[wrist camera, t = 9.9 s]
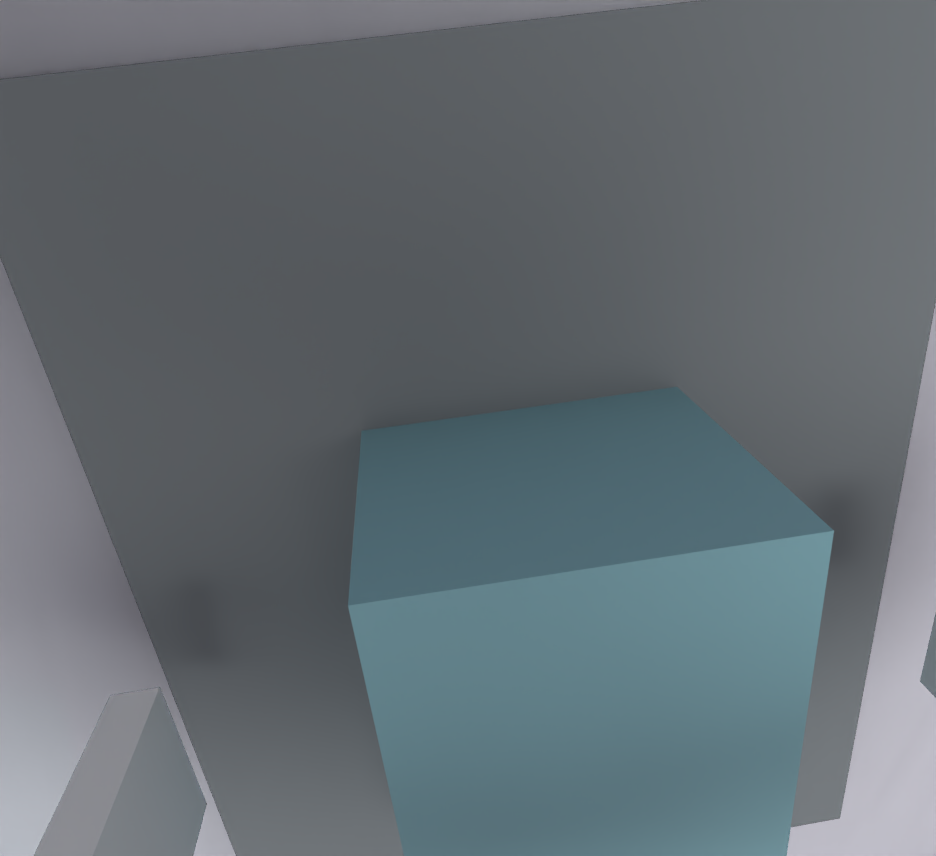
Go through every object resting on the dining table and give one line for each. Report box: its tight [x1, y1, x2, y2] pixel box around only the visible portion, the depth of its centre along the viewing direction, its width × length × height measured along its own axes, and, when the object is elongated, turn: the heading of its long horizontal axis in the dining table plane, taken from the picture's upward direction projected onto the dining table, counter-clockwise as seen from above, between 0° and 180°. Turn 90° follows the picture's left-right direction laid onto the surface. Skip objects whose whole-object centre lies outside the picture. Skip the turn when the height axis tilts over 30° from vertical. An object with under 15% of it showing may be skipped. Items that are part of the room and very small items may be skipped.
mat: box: [0, 0, 936, 856], centre depth 15 cm, size 20×16×1 cm
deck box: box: [348, 387, 834, 856], centre depth 13 cm, size 6×10×5 cm, turn 6°
